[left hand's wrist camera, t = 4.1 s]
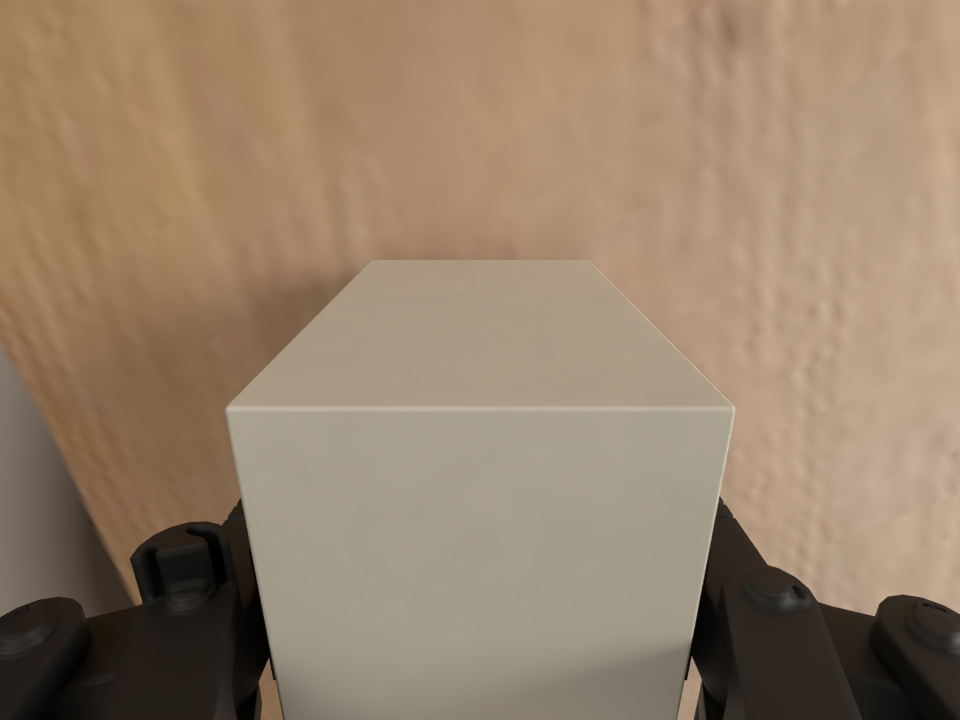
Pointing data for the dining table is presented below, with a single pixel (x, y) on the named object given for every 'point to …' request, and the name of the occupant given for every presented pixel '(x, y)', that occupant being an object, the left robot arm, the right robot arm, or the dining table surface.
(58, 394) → the dining table surface
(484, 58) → the dining table surface
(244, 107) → the dining table surface
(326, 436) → the bar
